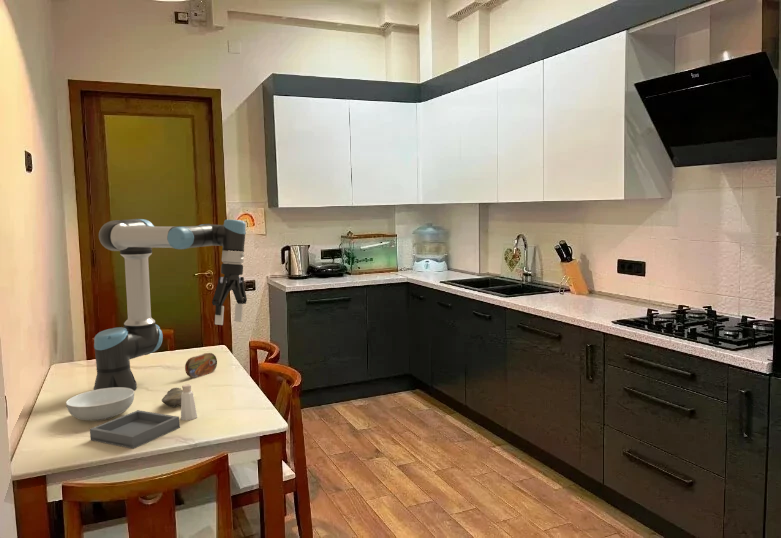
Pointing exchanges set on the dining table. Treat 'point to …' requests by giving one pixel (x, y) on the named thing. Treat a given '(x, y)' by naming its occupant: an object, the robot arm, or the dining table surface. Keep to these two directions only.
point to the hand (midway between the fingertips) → (228, 323)
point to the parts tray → (134, 429)
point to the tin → (201, 365)
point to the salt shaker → (187, 404)
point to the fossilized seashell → (173, 397)
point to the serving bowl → (100, 403)
